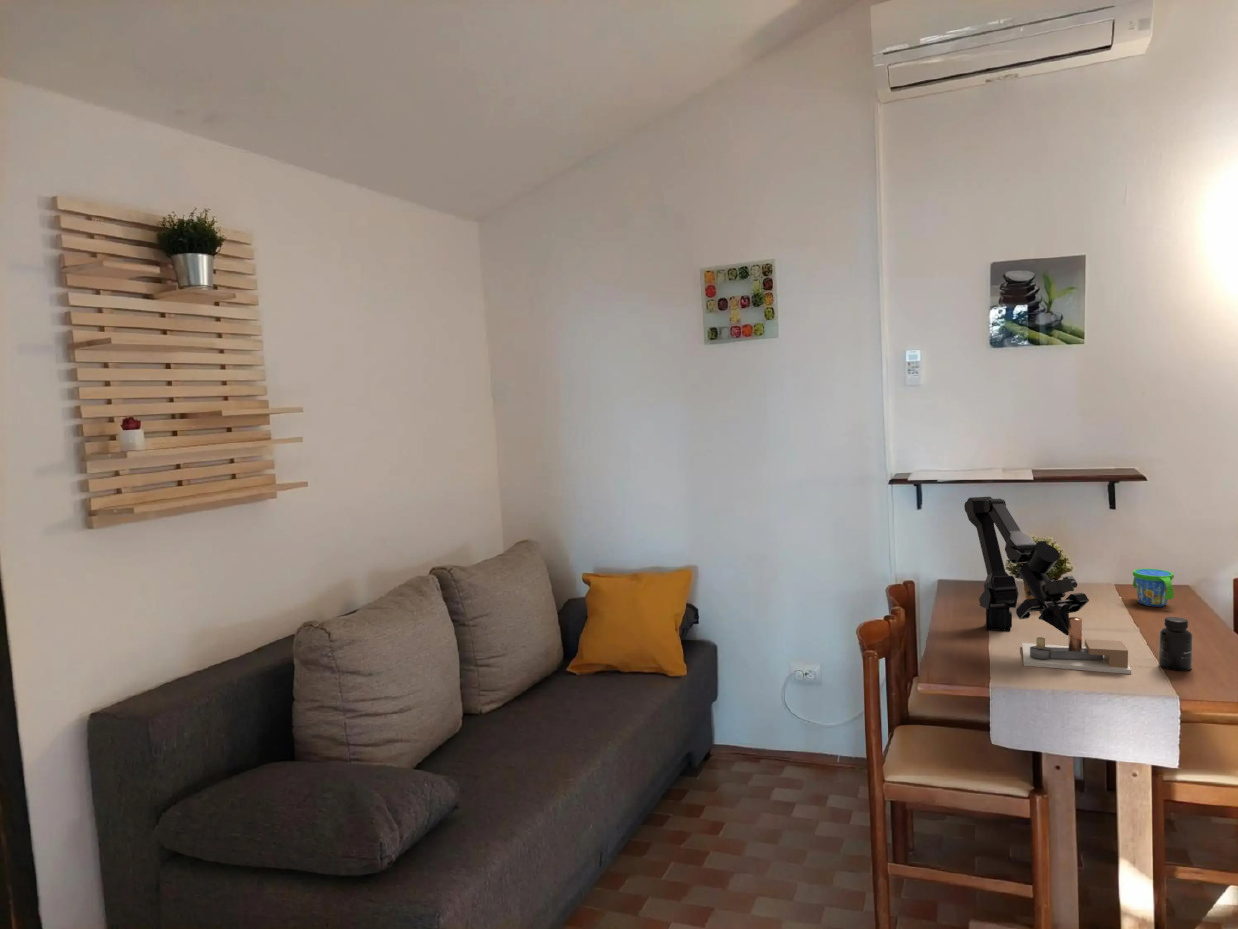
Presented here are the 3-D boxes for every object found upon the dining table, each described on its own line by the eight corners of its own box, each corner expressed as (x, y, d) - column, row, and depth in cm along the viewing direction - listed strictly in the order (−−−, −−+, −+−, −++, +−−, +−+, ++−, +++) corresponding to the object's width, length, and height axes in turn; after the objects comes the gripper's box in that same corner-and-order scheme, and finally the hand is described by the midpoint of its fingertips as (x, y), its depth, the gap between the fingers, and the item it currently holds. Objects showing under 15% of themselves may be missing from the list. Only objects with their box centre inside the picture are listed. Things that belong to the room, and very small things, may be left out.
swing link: (1032, 659, 221) (1032, 620, 220) (1027, 653, 226) (1027, 615, 225) (1104, 661, 217) (1104, 622, 216) (1098, 655, 222) (1098, 616, 221)
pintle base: (1024, 665, 220) (1023, 642, 220) (1022, 646, 235) (1022, 624, 235) (1131, 674, 211) (1131, 649, 210) (1122, 653, 226) (1122, 631, 226)
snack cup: (1185, 610, 263) (1185, 577, 262) (1149, 611, 263) (1149, 578, 262) (1156, 597, 278) (1156, 566, 277) (1122, 598, 279) (1122, 567, 278)
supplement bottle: (1192, 673, 210) (1193, 624, 209) (1158, 669, 214) (1159, 621, 212) (1191, 664, 216) (1192, 617, 215) (1159, 661, 219) (1159, 614, 218)
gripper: (1024, 569, 223) (1056, 622, 213) (1084, 562, 228) (1118, 614, 218) (1002, 592, 231) (1032, 644, 222) (1060, 585, 236) (1092, 636, 227)
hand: (1069, 634), depth 222 cm, fingers closed, pressing on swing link
